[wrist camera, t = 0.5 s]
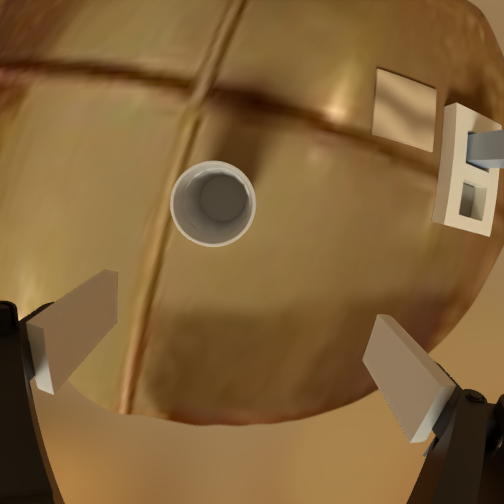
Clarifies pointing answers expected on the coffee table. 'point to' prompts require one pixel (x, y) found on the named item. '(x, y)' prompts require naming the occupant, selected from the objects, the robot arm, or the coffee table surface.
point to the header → (464, 175)
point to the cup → (213, 203)
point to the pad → (403, 110)
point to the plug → (486, 149)
